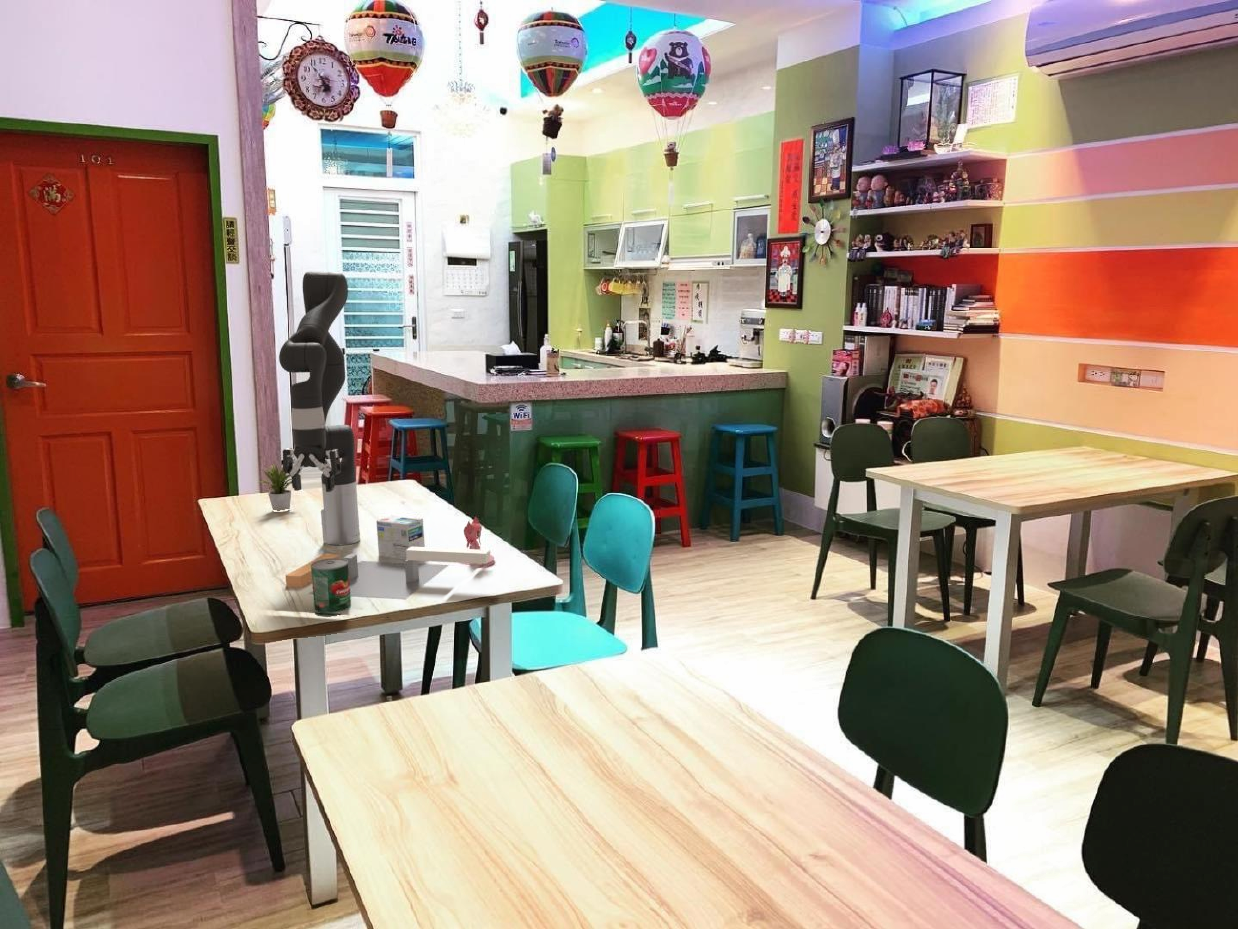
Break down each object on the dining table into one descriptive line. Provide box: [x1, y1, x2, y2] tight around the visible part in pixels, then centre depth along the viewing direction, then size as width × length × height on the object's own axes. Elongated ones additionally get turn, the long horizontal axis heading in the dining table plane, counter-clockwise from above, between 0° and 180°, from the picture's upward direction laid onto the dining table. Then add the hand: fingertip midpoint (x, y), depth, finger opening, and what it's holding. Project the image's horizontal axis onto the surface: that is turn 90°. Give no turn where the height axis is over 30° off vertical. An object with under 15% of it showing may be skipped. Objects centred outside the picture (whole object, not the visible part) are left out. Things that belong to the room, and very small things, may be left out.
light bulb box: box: [376, 515, 426, 560], centre depth 237 cm, size 11×7×11 cm, turn 65°
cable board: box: [308, 553, 449, 600], centre depth 217 cm, size 24×26×6 cm
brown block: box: [285, 553, 341, 588], centre depth 221 cm, size 4×18×4 cm, turn 168°
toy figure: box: [459, 516, 495, 569], centre depth 232 cm, size 10×10×12 cm
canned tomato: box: [311, 557, 352, 618], centre depth 198 cm, size 8×8×11 cm
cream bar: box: [406, 546, 491, 565], centre depth 213 cm, size 20×3×2 cm, turn 79°
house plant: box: [259, 461, 302, 511], centre depth 290 cm, size 14×14×16 cm
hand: (313, 490), depth 220 cm, fingers open, 8 cm apart
